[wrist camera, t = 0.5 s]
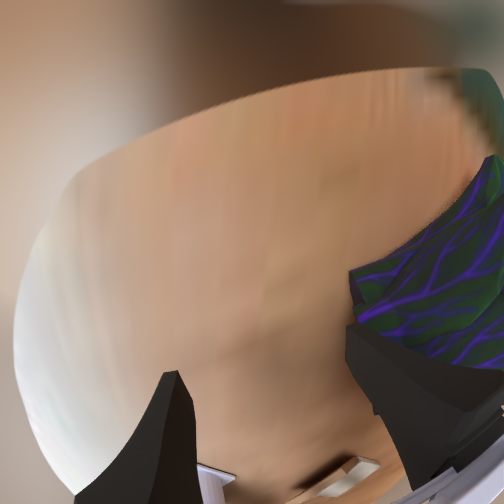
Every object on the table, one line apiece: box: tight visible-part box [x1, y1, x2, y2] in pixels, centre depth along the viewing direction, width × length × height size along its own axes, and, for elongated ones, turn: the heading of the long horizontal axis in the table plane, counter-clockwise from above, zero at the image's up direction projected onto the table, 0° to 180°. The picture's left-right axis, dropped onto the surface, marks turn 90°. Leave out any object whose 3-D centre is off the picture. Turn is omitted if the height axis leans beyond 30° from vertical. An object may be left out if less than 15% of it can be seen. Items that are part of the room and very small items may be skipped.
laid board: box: [316, 456, 381, 497], centre depth 33 cm, size 10×8×1 cm
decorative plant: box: [349, 154, 504, 415], centre depth 18 cm, size 21×26×30 cm
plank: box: [285, 456, 359, 504], centre depth 28 cm, size 10×8×1 cm
